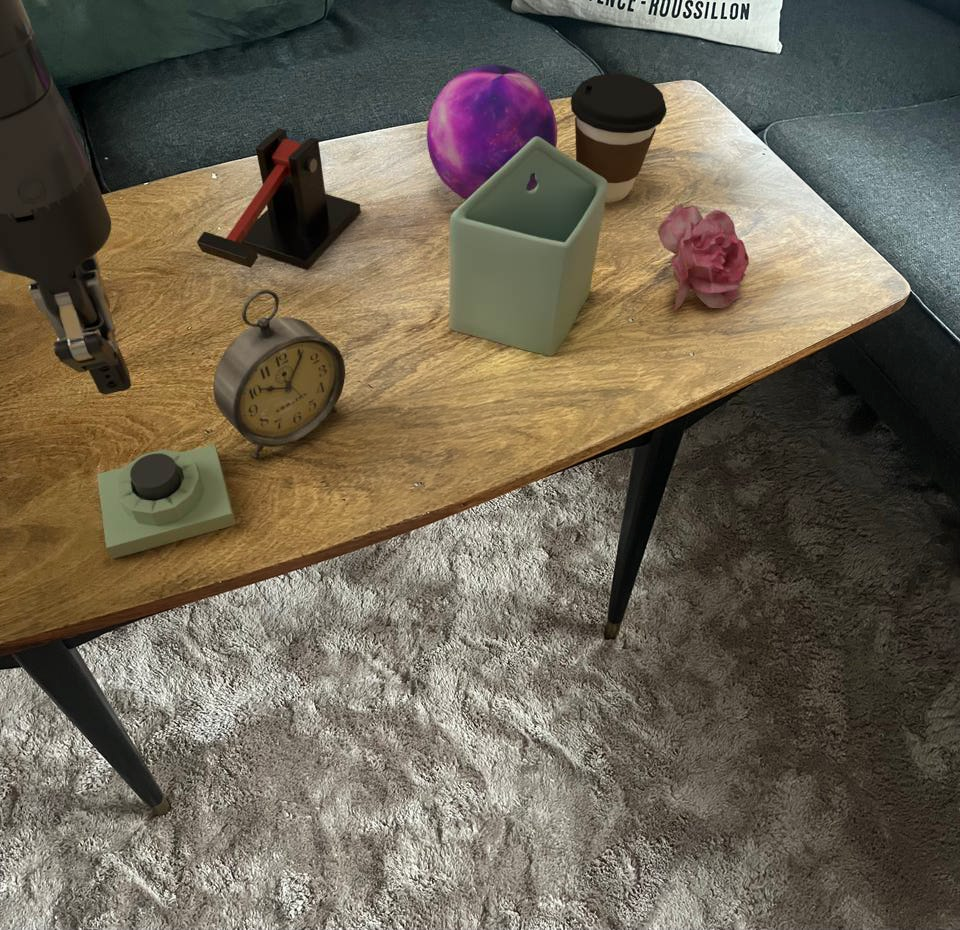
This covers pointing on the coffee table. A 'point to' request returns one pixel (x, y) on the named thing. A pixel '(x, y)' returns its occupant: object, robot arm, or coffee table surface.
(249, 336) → the alarm clock
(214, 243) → the red lever
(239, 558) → the coffee table surface
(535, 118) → the decorative orb
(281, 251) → the lever stand
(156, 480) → the call button
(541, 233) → the planter
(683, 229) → the flower
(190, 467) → the call button base
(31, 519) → the coffee table surface
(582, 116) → the coffee cup
